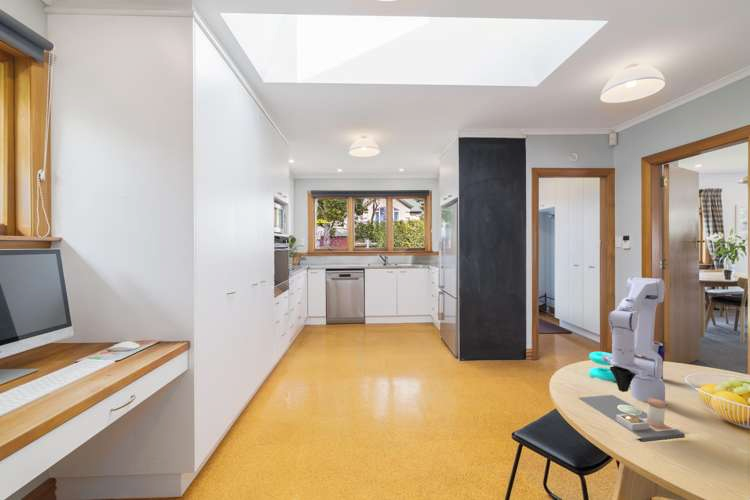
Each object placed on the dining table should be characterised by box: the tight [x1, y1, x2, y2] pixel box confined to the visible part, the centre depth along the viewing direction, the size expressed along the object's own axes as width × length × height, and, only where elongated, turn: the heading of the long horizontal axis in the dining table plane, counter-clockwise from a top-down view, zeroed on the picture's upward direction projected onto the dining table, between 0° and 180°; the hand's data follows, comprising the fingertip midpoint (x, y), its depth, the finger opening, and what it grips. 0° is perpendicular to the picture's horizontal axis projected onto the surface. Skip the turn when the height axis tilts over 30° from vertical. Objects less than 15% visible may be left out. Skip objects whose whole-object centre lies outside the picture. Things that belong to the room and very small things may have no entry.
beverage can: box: [646, 341, 664, 380], centre depth 138 cm, size 5×5×15 cm
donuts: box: [588, 351, 616, 383], centre depth 139 cm, size 10×10×10 cm
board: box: [578, 394, 686, 443], centre depth 108 cm, size 14×25×3 cm, turn 7°
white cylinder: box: [646, 398, 666, 428], centre depth 102 cm, size 4×4×7 cm
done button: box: [625, 414, 640, 423], centre depth 102 cm, size 4×4×2 cm
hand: (623, 390), depth 106 cm, fingers closed
